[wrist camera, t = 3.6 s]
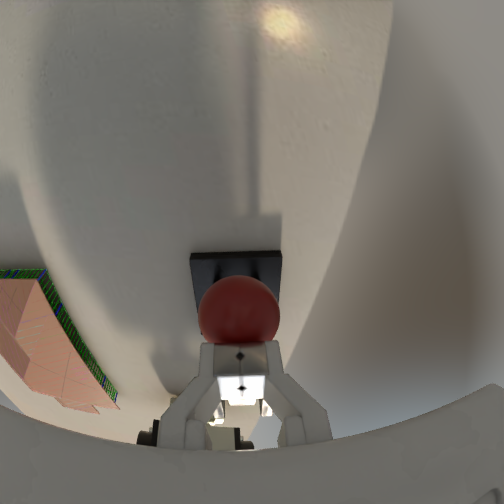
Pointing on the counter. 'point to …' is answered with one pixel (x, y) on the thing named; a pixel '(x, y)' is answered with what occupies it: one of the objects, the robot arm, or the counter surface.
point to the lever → (238, 314)
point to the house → (46, 346)
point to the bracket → (229, 264)
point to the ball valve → (219, 435)
